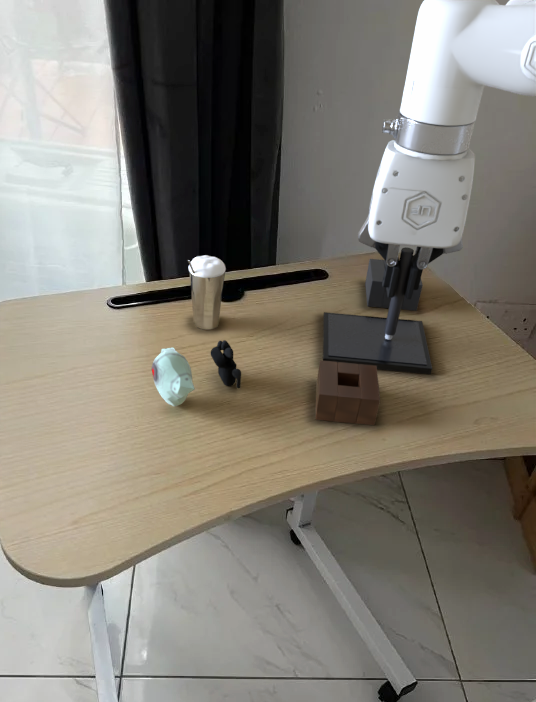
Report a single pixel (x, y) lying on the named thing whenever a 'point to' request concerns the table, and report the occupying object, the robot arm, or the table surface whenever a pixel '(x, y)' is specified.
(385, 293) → the dock
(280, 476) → the table surface
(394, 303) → the stylus
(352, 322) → the tablet
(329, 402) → the pen stand
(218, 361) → the wireless earbuds
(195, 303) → the milkshake
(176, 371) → the robot head
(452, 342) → the table surface
